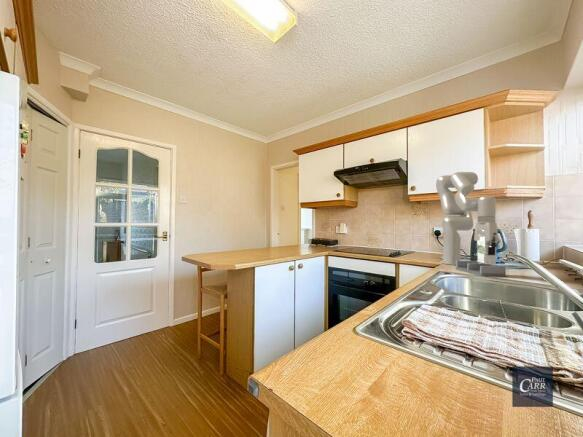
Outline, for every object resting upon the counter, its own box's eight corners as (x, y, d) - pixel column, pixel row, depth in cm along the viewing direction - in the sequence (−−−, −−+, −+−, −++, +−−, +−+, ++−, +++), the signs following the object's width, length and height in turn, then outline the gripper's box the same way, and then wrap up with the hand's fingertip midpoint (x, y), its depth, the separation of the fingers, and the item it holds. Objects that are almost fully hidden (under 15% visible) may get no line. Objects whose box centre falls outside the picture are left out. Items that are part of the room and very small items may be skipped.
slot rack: (456, 269, 141) (456, 260, 141) (477, 269, 141) (477, 261, 141) (481, 276, 123) (481, 266, 123) (505, 276, 124) (505, 266, 124)
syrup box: (496, 264, 125) (496, 236, 125) (484, 264, 125) (484, 236, 126) (487, 262, 131) (487, 235, 131) (476, 262, 131) (476, 235, 131)
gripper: (466, 220, 137) (466, 252, 137) (494, 219, 120) (493, 256, 119) (479, 220, 137) (479, 252, 137) (508, 220, 120) (508, 256, 120)
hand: (486, 253), depth 128 cm, fingers closed on syrup box, 5 cm apart
